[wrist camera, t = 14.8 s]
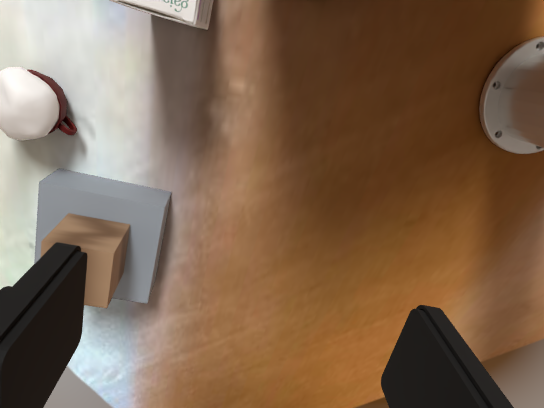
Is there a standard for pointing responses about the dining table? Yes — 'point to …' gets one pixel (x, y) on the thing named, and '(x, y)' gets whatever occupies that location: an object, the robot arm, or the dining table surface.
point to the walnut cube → (94, 252)
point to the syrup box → (175, 10)
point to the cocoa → (31, 105)
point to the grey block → (114, 207)
